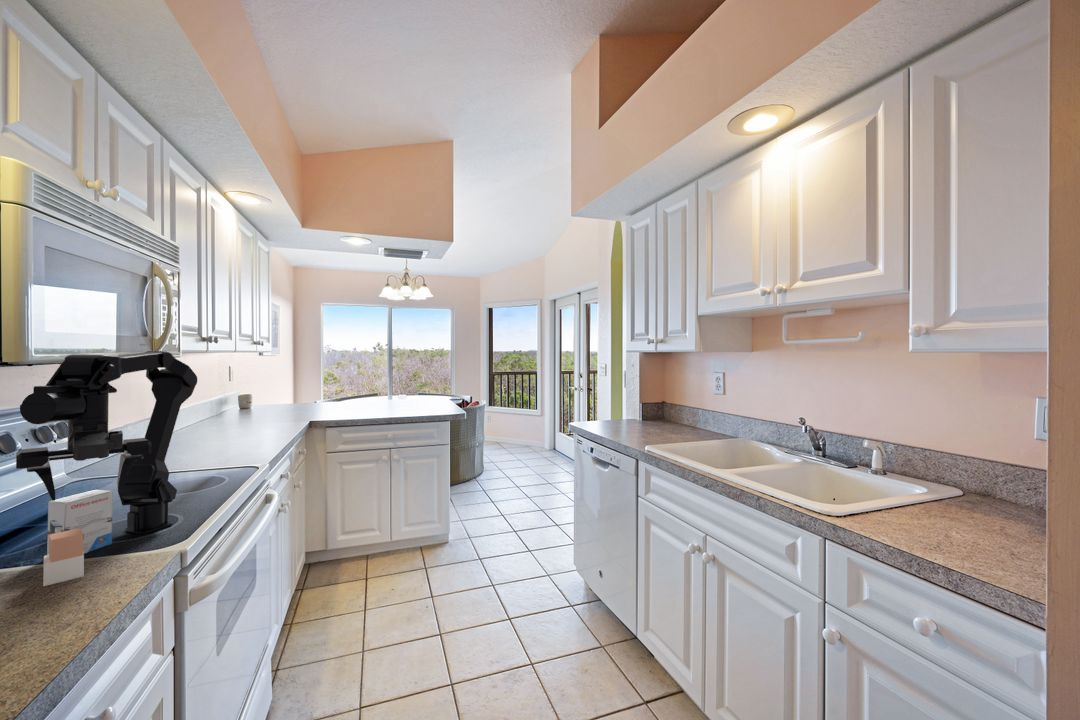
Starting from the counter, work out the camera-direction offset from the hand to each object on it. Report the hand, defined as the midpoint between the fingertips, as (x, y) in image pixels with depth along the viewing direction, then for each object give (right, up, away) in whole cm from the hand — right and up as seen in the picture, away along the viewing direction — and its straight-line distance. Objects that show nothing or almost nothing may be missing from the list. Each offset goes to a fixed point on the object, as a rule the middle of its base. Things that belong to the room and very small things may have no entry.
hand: (87, 494), depth 89 cm
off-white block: (+2, -13, -7) cm, 15 cm away
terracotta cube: (+3, -9, -7) cm, 12 cm away
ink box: (-5, -13, +4) cm, 15 cm away
